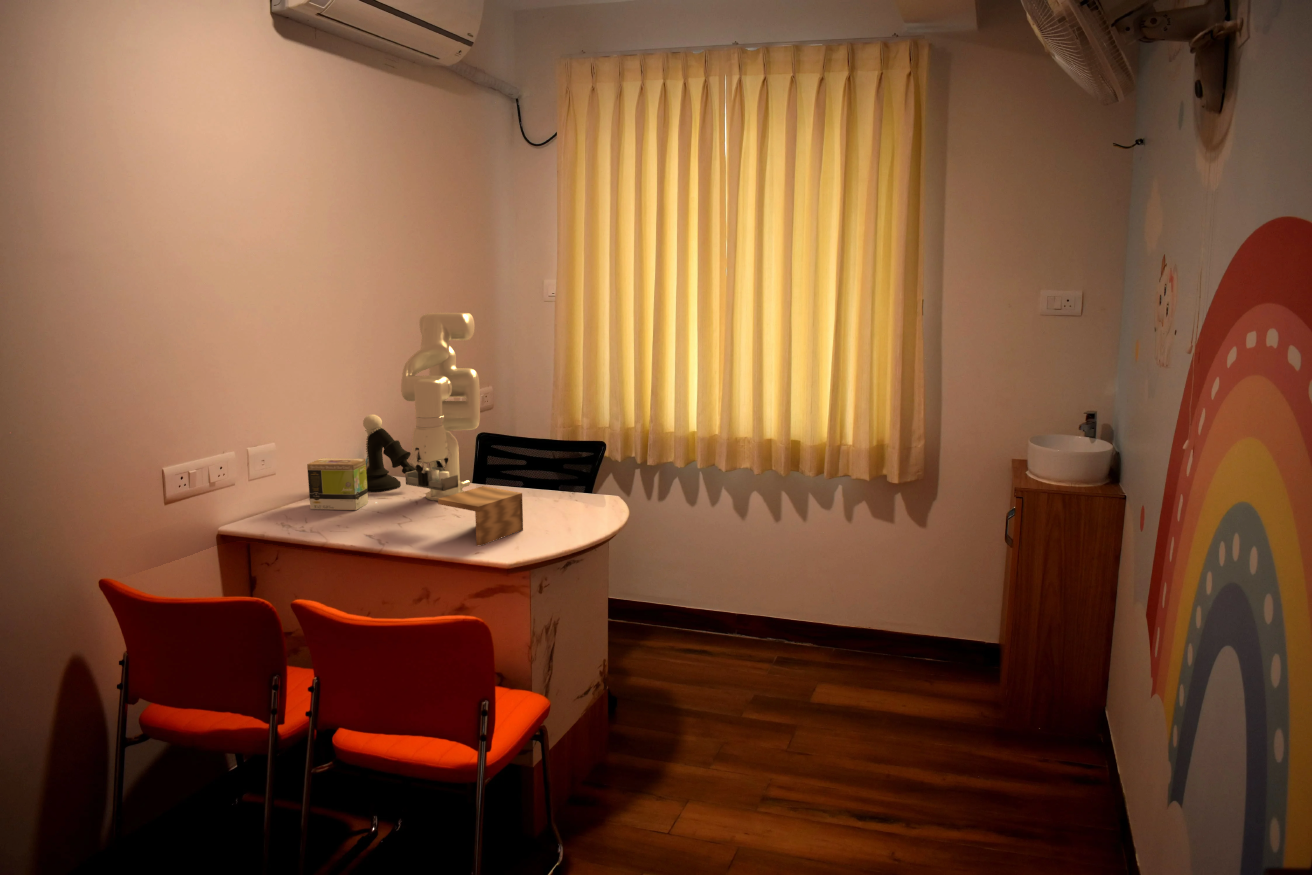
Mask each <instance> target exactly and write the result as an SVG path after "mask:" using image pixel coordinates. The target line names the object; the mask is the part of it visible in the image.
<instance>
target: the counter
mask: <svg viewBox="0 0 1312 875" xmlns="http://www.w3.org/2000/svg"><path fill="white" fill-rule="evenodd" d="M463 491H464V492H461V493H457V494H454V495H450V496H447V497H443V498H440V499H438V501H437V504H438V505H439V506H445V507H452V508H456V509H462V510H466V511H471V512H474V515H475V540H476V544H475V545H476V546H478V545H481V546H484V545H486V543H487V544H489V543H491V541H492V542H494V541H493V540H495V541H497V540H499V538H500V539H502V538H501V537H503V538H505V537H504V536H506V537H508V536H511V535H513V534H512V533H514V534H516V533H515V532H517V533H519V532H521V531H520V530H522V531H523V530H524V514H523V513H524V512H523V507H524V506H523V492H518V491H513V490H508V489H507V490H506V489H502V488H496V487H490V486H485V485H483V486H478V487H475V488H472V489H468V490H463ZM518 531H519V532H518ZM510 534H511V535H510ZM507 535H508V536H507ZM496 539H497V540H496ZM488 542H489V543H488ZM483 544H484V545H483Z"/></svg>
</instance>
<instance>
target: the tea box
mask: <svg viewBox="0 0 1312 875" xmlns="http://www.w3.org/2000/svg"><path fill="white" fill-rule="evenodd" d="M366 465H367V462H366V458H350V457H349V458H341V457H340V458H336V457H332V458H331V457H329V458H326V457H325V458H324V457H323V458H319V459H316V460H314V461H312V462H310V463H307V465H306V466H307V467H306V469H307V480H308V482H307V483H308V494H309V495H308V496H309V506H310V510H327V511H329V510H333V511H334V510H336V511H337V510H339V511H340V510H341V511H357V510H359V509H362V507H365V506H366V505H367V504H368V503H369V492H368V489H367V475H366Z"/></svg>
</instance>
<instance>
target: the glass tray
mask: <svg viewBox="0 0 1312 875" xmlns="http://www.w3.org/2000/svg"><path fill="white" fill-rule="evenodd" d="M425 473H427V479H428V486H426V487H424V486H419V485H418V472H416V470H415V471H411V472H406V473H405V475H404V476H405V477H404V478H405V486H412V487H418V488H424V489H429V490H430V489H434V490H440V491H445V490H449V489H453V488H456V487H458V475H453V476H449V472H448V471H444V468H442V467H435V466H433V467H432V470H430V467H427V468H426V472H425Z"/></svg>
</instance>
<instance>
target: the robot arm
mask: <svg viewBox="0 0 1312 875" xmlns="http://www.w3.org/2000/svg"><path fill="white" fill-rule="evenodd" d="M475 324H476V323H475V319H474V317H473V315H472V314H471V313H470V312H431V313H429V312H428V313H425V314H423V315H422V316H420V318H419V331H420V335H421V342H420V348H419V349H418V350H417V351H416V352H415V353H414V354H413V355H412V356H410V357H409V358H408V360H407V361H406V362H405V363H404V365H403V368H402V373H401V383H400V393H401V396H402V398H403V400H405V401H407V402H414V409H415V411H414V412H415V413H414V414H415V427H414V428H413V432H412V438H411V458H409V459H410V460H409V461H408V463H409V464H410V465H411V466H413V468H414V469H415V470H416V472H418V485H419V486H424V487H426V486H428V479H427V473H425V472H426V468H429V470H432V467H433V466H435V467H442V468H444V471H448V472H449V476H453V475H458V487H456V488H453V489H449V490H445V491H440V490H434V489H429V491H427V492H426V493H425V498H426V500H431V501H437V502H438V499H440V498H443V497H447V496H450V495H454V494H457V493H461V492H464V491H465V490H463V488H466V487H469V486H470V485H471V482H470V480H469V479H467V480H464V481H463V480H461V479H460V454H459V450H460V448H459V442H458V440H457V438H456V436H454V434H452V432H453V431H471V430H472V431H473V430H476V429H477V428H478V427H479V425H480V421H481V403H480V402H481V401H480V400H481V399H480V398H481V396H480V394H481V393H480V392H481V391H480V389H481V388H480V377H479V374H478V372H477V370H475V369H473V368H469V367H464V368H463V367H462V368H461V367H459V368H457V354H456V351H454V349H453V347H452V346H451V345H450V344H451V343H450V342H451V341H469V340H471V339H472V337H473V336H474V334H475V328H476V326H475ZM428 369H429V370H428ZM426 370H428V371H429V372H428V374H429V375H418V374H419V373H422V372H423V371H426ZM449 398H463V399H465V400H448V399H449ZM451 431H452V432H451ZM428 464H429V466H428Z"/></svg>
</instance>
